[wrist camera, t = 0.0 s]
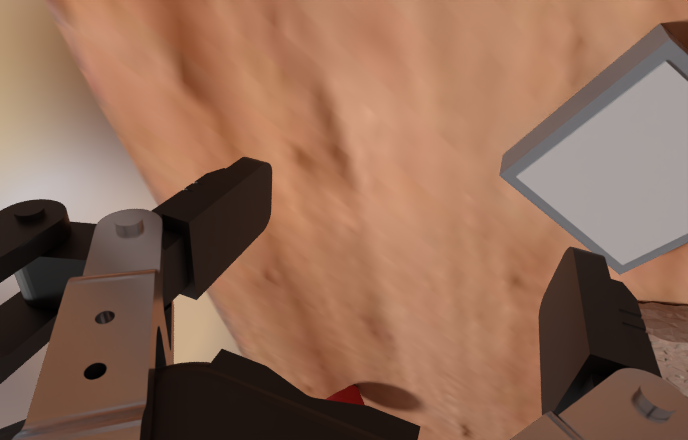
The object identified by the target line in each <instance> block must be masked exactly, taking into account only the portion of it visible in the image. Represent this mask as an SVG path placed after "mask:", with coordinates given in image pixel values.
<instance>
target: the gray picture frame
mask: <svg viewBox="0 0 688 440" xmlns="http://www.w3.org/2000/svg"><path fill="white" fill-rule="evenodd" d="M499 176H501V177H502V178H503V179H504V180H505V181H507V182H508V183H509V184H510V185H511V186H513V187H514V188H515V189H516V190H518V191H519V192H520V193H521V194H522V195H524V196H525V197H526V198H527V199H528V200H530V201H531V202H532V203H533V204H535V205H536V206H537V207H538V208H539V209H541V210H542V211H543V212H544V213H545V214H547V215H548V216H549V217H550V218H551V219H553V220H554V221H555V222H556V223H558V224H559V225H560V226H561V227H562V228H564V229H565V230H566V231H567V232H568V233H570V234H571V235H572V236H573V237H575V238H576V239H577V240H578V241H579V242H581V243H582V244H583V245H584V246H585V247H587V248H588V249H589V250H590V251H592V252H593V253H596V254H600V255H603V256H604V257H605V259H606V263H607V265H609V266H610V267H611V268H612V269H613V270H615V271H616V272H617V273H618V274H619V275H620V274H622V273H624V272H627V271H629V270H631V269H633V268H635V267H637V266H639V265H641V264H643V263H646V262H648V261H650V260H652V259H654V258H656V257H658V256H660V255H662V254H664V253H667V252H669V251H671V250H673V249H675V248H677V247H679V246H681V245H683V244H686V243H688V49H687V48H686V47H685V46H684V45H683V44H682V43H681V42H680V41H678V40H677V39H676V38H675V37H674V36H673V35H672V34H671V33H670V32H669V31H668V30H667V29H666V28H665V27H663V26H662V25H661V24H659V25H658V26H656V27H655V28H654V29H653V30H652V31H650V32H649V33H648V34H647V35H646V36H644V37H643V38H642V39H641V40H640V41H638V42H637V43H636V44H635V45H634V46H633V47H631V48H630V49H629V50H628V51H627V52H625V53H624V54H623V55H622V56H621V57H619V58H618V59H617V60H616V61H615V62H613V63H612V64H611V65H610V66H609V67H607V68H606V69H605V70H604V71H603V72H601V73H600V74H599V75H598V76H597V77H596V78H594V79H593V80H592V81H591V82H590V83H588V84H587V85H586V86H585V87H584V88H582V89H581V90H580V91H579V92H578V93H576V94H575V95H574V96H573V97H572V98H570V99H569V100H568V101H567V102H566V103H564V104H563V105H562V106H561V107H560V108H558V109H557V110H556V111H555V112H554V113H553V114H551V115H550V116H549V117H548V118H547V119H545V120H544V121H543V122H542V123H541V124H539V125H538V126H537V127H536V128H535V129H533V130H532V131H531V132H530V133H529V134H527V135H526V136H525V137H524V138H523V139H521V140H520V141H519V142H518V143H517V144H516V145H514V146H513V147H512V148H511V149H510V150H508V151H507V152H506V153H505V154H504V155H503V158H502V163H501V169H500V175H499Z"/></svg>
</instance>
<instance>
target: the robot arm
mask: <svg viewBox="0 0 688 440" xmlns="http://www.w3.org/2000/svg"><path fill="white" fill-rule="evenodd" d="M271 199H272V167H271V165H270V164H269V163H267V162H263V161H259V160H256V159H252V158H248V157H242V158H241V159H239V160H238V161H236V162H235V163H234V164H232V165H231V166H229V167H228V168H226V169H225V168H223V169H219V170H216V171H213V172H210V173H207V174H205V175H204V176H202V177H201V178H199V179H198V180H196V181H195V183H194V184H193V183H192V184H190V185H189V186H187V187H186V188H185V190H182V191H180V192H179V193H177V194H176V195H174V196H173V197H171V198H170V199H168V200H167V201H165V202H164V203H162V204H161V205H159V206H158V207H156V208H155V209H153V210H152V211H149V210H144V209H127V210H121V211H118V212H114V213H112V214H109V215H107V216H105V217H104V218H102V219H101V220H100V221H99V222H98V224H91V223H80V222H70V221H69V218H68V214H67V210H66V208H65V206H64V205H63V204H61V203H60V202H57V201H53V200H45V199H39V200H29V201H24V202H20V203H16V204H14V205H11V206H9V207H7V208H5V209H3V210H1V211H0V283H1V282H2V281H4V280H5V279H7V278H8V277H10V276H11V275H13V274H14V275H15V277H16V280H17V282H18V285H19V287H20V290H21V291H20V292H18V293H17V294H16V295H14V296H13V297H11V298H10V299H9V300H7V301H6V302H4V303H3V304H2V305H0V384H1V383H2V382H3V381H4V380H6V379H7V378H8V377H9V376H10V375H11V374H12V373H14V372H15V371H16V370H17V369H18V368H19V367H20V366H22V365H23V364H24V363H25V362H26V361H27V360H29V359H30V358H31V357H32V356H33V355H34V354H35V353H37V352H38V351H39V350H40V349H41V348H42V347H43V346H45V345H46V344H47V343H48V342H49V345H48V348H47V351H46V355H45V358H44V361H43V365H42V368H41V371H40V375H39V378H38V381H37V385H36V388H35V392H34V395H33V398H32V402H31V405H30V408H29V412H28V415H27V418H26V419H25V420H22V421H20V422H17V423H15V424H12V425H10V426H7V427H4V428H2V429H0V440H417V439H418V435H419V431H420V426H418V425H415V424H413V423H410V422H408V421H405V420H403V419H400V418H398V417H395V416H392V415H390V414H387V413H385V412H382V411H380V410H377V409H375V408H372V407H370V406H366V405H359V404H352V403H345V402H339V401H332V400H325V399H318V398H313V397H310V396H308V395H306V394H304V393H303V392H302V391H300V390H299V389H298V388H296V387H295V386H293V385H292V384H291V383H289V382H288V381H286V380H285V379H284V378H282V377H281V376H280V375H278V374H277V373H275V372H274V371H273V370H271V369H270V368H268V367H267V366H265V365H262V364H260V363H257V362H255V361H252V360H249V359H247V358H244V357H242V356H239V355H237V354H234V353H231V352H229V351H226V350H224V349H221V351H220V352H219V353H218V354H217V356H216V357H215V358H214V359H213V361H212V362H211V363H209V362H188V363H178V364H174V304H173V300H174V299H175V298H176V297H177V296H178V295H179V294H182V295H184V296H187V297H190V298H193V299H195V300H197V299H198V298H199V297H200V296H201V295H202V294H203V293H204V292H205V291H206V290H207V289H208V288H209V287H210V286H211V285H212V284H213V283H214V282H215V280H216V279H217V278H218V277H219V276H220V275H221V274H222V273H223V272H224V271H225V270H226V269H227V268H228V267H229V266H230V265H231V264H232V263H233V262H234V261H235V260H236V259H237V258H238V257H239V256H240V255H241V254H242V253H243V252H244V250H245V249H246V248H247V247H248V246H249V245H250V244H251V243H252V242H253V241H254V240H255V239H256V238H257V237H258V236H259V235H260V234H261V233H262V232H263V231H264V229H265V228H266V226H267V224H268V222H269V219H270V215H271ZM641 317H642V314H641V311H640V308H639V305H638V302H637V299H636V298H635V297H634V295H633V294H632V293H631V292H630V291H629V289H628V288H627V287H626V286H625V285H624V284H623V282H620V281H616V280H613V279H611V278H610V274H609V270H608V266H607V263H606V259H605V257H604V256H603V255H600V254H596V253H593V252H589V251H585V250H582V249H578V248H574V247H569V248H568V249H567V250H566V251H565V253H564V255H563V257H562V259H561V261H560V263H559V265H558V267H557V269H556V271H555V273H554V275H553V277H552V279H551V281H550V283H549V286H548V288H547V290H546V292H545V294H544V296H543V299H542V302H541V306H540V310H539V342H540V371H541V400H542V416H541V417H540V418H538V419H537V420H536V421H534V422H533V423H531V424H530V425H529V426H527V427H526V428H525V429H523V430H522V431H521V432H519V433H518V434H517V435H515V436H514V437H512V438H511V439H510V440H688V399H687V398H686V396H685V395H683V394H682V393H681V392H680V391H679V390H678V389H677V388H675V387H674V386H673V385H672V384H670V383H669V382H667V381H666V380H664V379H662V376H661V373H660V370H659V367H658V363H657V360H656V357H655V354H654V351H653V348H652V345H651V342H650V339H649V336H648V333H646V326H645V323H644V320H643V319H642V318H641Z"/></svg>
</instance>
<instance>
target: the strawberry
mask: <svg viewBox="0 0 688 440" xmlns="http://www.w3.org/2000/svg"><path fill="white" fill-rule="evenodd" d="M325 400H332V401H339V402H345V403H352V404H359V405H364V402H363V399H362V397H361V395H360V393H359V389H358V388H357V387H356V386H354V385H351V386H348V387H347V388H345V389H343V390H341V391H339V392H337V393H335V394H333V395H332V396H330V397H328V398H327V399H325Z"/></svg>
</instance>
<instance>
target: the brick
mask: <svg viewBox="0 0 688 440" xmlns="http://www.w3.org/2000/svg"><path fill="white" fill-rule="evenodd" d="M638 305H639V308H640V311H641V314H642V317H641V318H642V319H643V320H644V323H645V326H646V333H648V336H649V339H650V342H651V345H652V348H653V351H654V354H655V357H656V360H657V363H658V367H659V370H660V373H661V376H662V379H664V380H666V381H667V382H669V383H670V384H672V385H673V386H674V387H675V388H677V389H678V390H679V391H680V392H681V393H682V394H683V395H685V396H686V398H687V399H688V306H684V305H682V306H672V305H663V304H659V303H653V302H651V303H645V304H641V303H638Z"/></svg>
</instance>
